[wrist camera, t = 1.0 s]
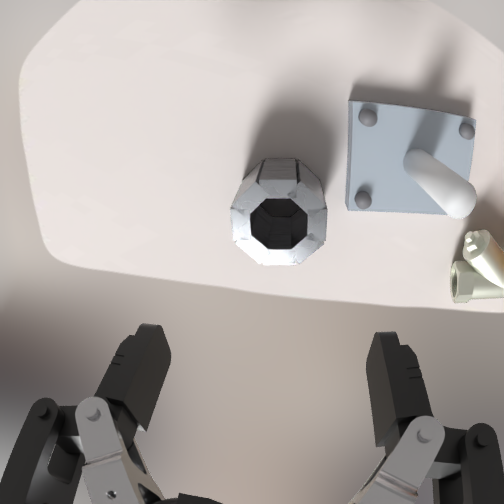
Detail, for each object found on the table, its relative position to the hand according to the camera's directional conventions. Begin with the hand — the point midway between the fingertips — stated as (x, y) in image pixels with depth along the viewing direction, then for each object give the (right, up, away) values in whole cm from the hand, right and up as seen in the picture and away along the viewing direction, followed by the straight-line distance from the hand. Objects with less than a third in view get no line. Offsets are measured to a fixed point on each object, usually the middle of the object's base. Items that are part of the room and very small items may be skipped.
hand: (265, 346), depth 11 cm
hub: (+2, +8, +12) cm, 15 cm away
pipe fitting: (+22, +3, +12) cm, 25 cm away
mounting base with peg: (+11, +11, +9) cm, 18 cm away
